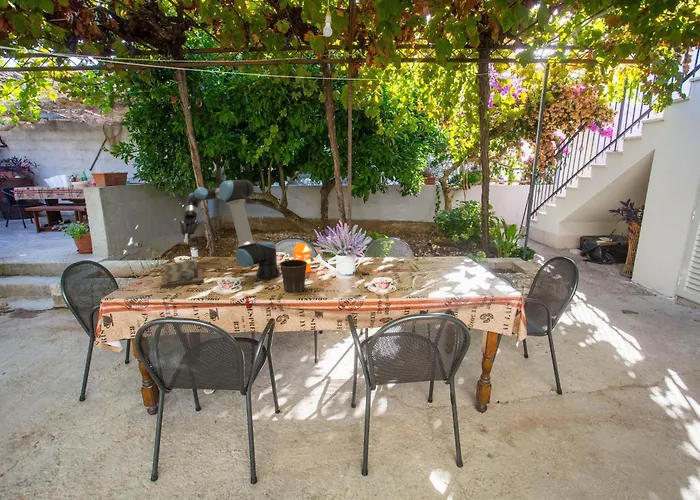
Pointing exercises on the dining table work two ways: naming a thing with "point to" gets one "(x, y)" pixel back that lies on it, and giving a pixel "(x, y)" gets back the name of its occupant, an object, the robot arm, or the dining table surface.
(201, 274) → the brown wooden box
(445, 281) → the dining table surface
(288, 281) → the plant pot
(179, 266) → the leg panel
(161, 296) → the dining table surface
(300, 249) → the orange juice
